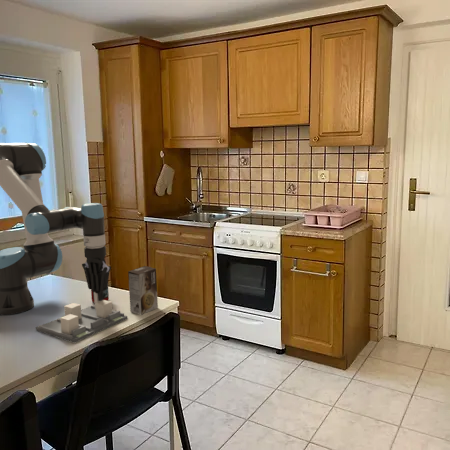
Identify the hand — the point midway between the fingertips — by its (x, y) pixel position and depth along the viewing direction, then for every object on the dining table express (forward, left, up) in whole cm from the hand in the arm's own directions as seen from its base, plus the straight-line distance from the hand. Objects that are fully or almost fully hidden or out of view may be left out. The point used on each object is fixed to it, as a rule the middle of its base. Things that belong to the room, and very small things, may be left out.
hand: (99, 308), depth 167 cm
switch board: (0, -8, -3) cm, 9 cm away
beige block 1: (-5, -8, -2) cm, 10 cm away
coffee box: (+9, +14, -4) cm, 17 cm away
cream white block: (+3, 0, -2) cm, 4 cm away
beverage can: (-13, +12, -4) cm, 18 cm away
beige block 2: (+3, -16, -2) cm, 17 cm away
